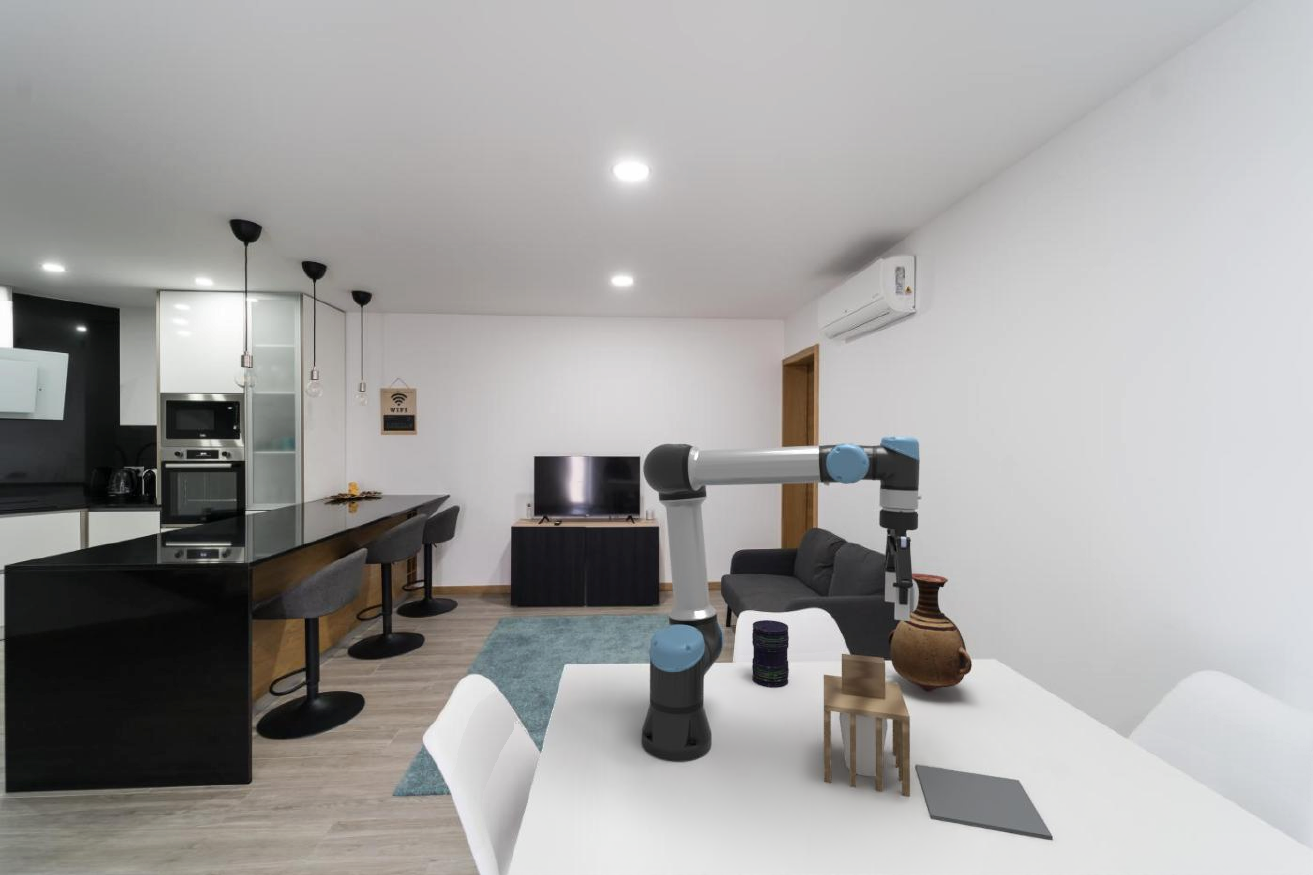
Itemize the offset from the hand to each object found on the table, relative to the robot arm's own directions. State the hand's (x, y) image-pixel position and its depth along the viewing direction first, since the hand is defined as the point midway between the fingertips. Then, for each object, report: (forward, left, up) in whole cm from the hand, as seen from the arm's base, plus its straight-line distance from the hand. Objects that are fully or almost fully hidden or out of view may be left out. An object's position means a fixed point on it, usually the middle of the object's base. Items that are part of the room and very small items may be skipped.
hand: (896, 610), depth 116 cm
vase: (+12, +35, -30) cm, 47 cm away
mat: (+12, -13, -30) cm, 34 cm away
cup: (-7, -8, -30) cm, 32 cm away
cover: (-7, -8, -30) cm, 31 cm away
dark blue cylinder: (-29, +29, -30) cm, 50 cm away
